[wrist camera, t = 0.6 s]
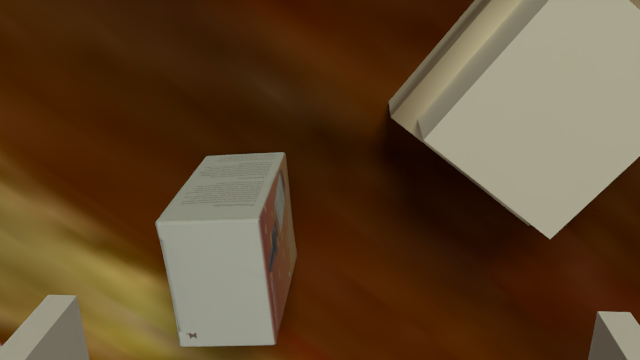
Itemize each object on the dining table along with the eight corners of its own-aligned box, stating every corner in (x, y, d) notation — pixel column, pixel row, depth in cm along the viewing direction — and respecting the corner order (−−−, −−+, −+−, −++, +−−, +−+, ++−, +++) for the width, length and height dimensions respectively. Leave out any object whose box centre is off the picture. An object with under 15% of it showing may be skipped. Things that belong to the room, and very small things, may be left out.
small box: (297, 255, 42) (277, 349, 33) (221, 257, 43) (178, 351, 33) (287, 149, 39) (261, 218, 30) (204, 153, 40) (152, 222, 30)
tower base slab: (388, 99, 38) (390, 117, 34) (536, -75, 34) (557, -77, 30) (513, 199, 40) (528, 226, 36) (670, 46, 36) (704, 59, 32)
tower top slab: (417, 118, 34) (423, 140, 31) (558, -43, 31) (584, -40, 27) (531, 208, 36) (549, 239, 32) (679, 65, 32) (719, 82, 29)
